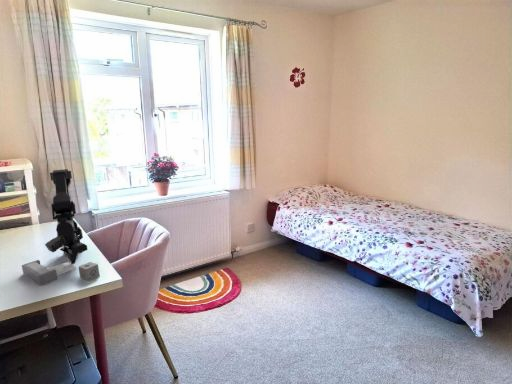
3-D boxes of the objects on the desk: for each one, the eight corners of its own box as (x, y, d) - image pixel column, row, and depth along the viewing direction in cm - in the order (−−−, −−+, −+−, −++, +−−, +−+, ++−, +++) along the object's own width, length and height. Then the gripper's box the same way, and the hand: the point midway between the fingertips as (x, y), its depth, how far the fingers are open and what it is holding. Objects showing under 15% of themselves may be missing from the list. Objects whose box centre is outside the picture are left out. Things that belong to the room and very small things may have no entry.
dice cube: (80, 278, 134) (78, 266, 132) (92, 273, 138) (90, 261, 137) (87, 281, 131) (86, 269, 130) (99, 275, 135) (97, 264, 134)
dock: (40, 268, 144) (38, 259, 143) (57, 279, 133) (56, 270, 132) (23, 274, 139) (21, 265, 138) (40, 286, 129) (38, 276, 128)
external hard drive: (35, 275, 139) (67, 264, 148) (43, 281, 134) (76, 269, 143) (35, 272, 138) (67, 261, 148) (42, 277, 133) (75, 265, 143)
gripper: (36, 230, 142) (43, 265, 145) (56, 239, 131) (63, 276, 134) (64, 223, 150) (70, 256, 154) (85, 230, 139) (91, 266, 143)
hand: (73, 263), depth 146 cm, fingers closed
